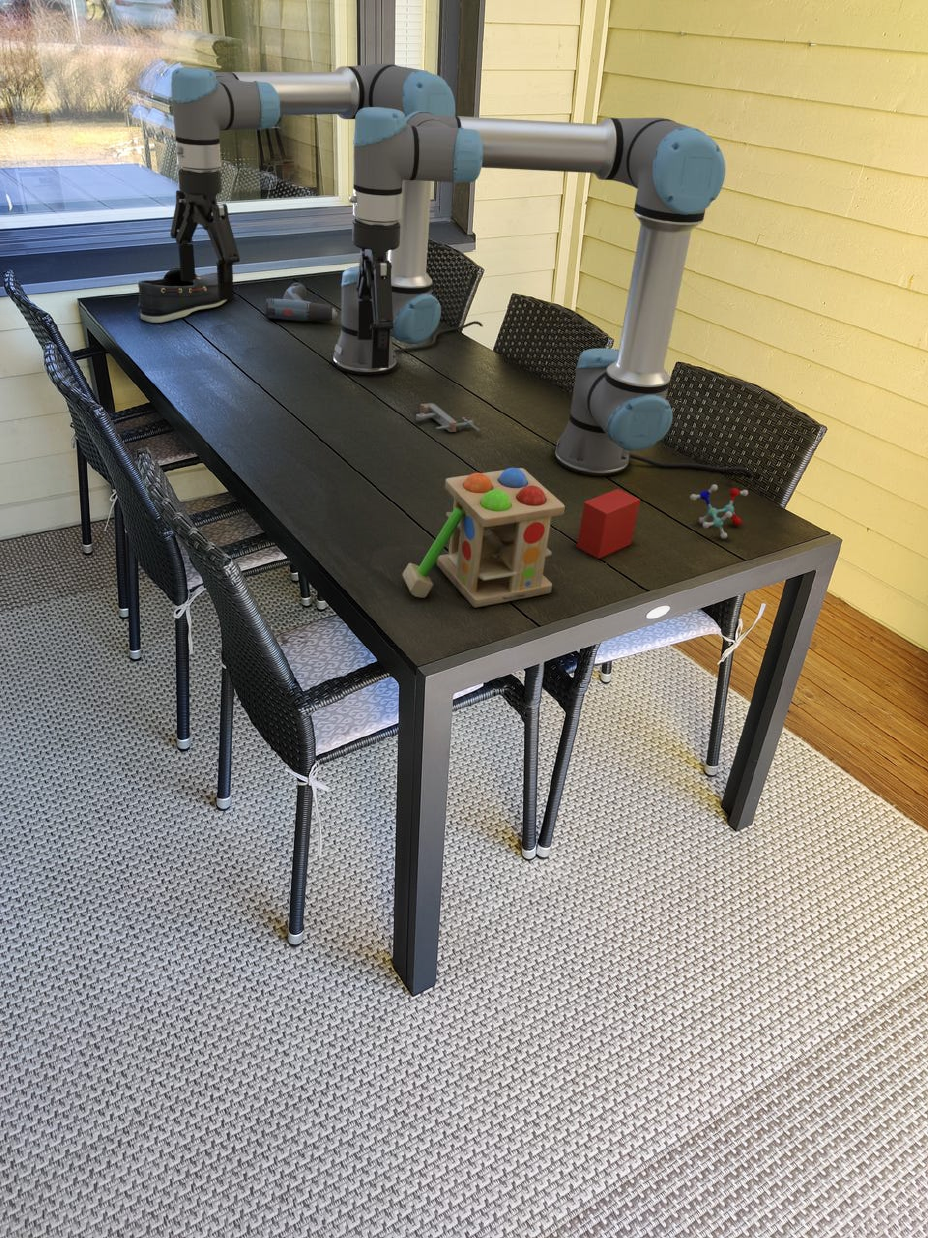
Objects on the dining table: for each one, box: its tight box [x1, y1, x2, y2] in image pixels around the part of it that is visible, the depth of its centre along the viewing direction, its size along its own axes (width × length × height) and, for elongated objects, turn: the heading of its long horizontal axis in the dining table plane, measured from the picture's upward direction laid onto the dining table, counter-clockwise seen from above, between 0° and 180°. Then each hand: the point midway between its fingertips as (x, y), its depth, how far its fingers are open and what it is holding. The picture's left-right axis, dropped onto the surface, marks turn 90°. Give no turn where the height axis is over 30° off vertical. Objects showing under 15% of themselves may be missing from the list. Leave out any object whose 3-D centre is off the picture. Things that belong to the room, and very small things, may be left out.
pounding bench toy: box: [401, 467, 566, 608], centre depth 155 cm, size 23×14×18 cm, turn 116°
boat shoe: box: [137, 266, 228, 324], centre depth 260 cm, size 13×33×10 cm, turn 147°
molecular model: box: [689, 483, 749, 540], centre depth 181 cm, size 12×10×10 cm
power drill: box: [264, 282, 338, 322], centre depth 265 cm, size 5×19×20 cm
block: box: [576, 488, 641, 560], centre depth 171 cm, size 5×9×9 cm, turn 133°
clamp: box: [415, 402, 482, 434], centre depth 211 cm, size 15×2×10 cm
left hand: (206, 289), depth 186 cm, fingers open, 13 cm apart
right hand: (372, 352), depth 165 cm, fingers open, 13 cm apart
